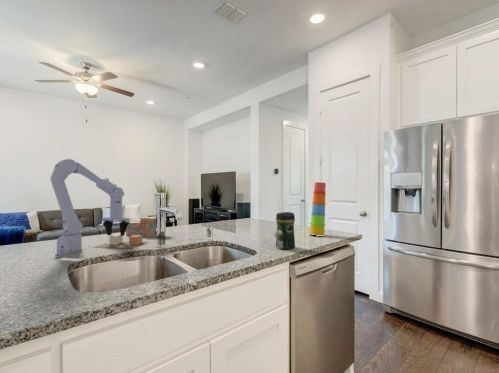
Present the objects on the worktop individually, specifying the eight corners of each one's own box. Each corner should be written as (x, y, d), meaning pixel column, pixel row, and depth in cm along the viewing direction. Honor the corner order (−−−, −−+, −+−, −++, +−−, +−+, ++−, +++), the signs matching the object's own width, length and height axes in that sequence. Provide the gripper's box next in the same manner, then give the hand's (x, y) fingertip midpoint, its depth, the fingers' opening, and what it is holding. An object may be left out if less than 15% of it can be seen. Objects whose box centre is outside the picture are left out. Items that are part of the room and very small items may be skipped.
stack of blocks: (125, 237, 155) (125, 217, 155) (131, 235, 161) (131, 216, 161) (159, 238, 153) (159, 218, 153) (163, 236, 159) (163, 217, 159)
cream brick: (117, 243, 132) (117, 236, 132) (109, 243, 133) (109, 235, 133) (122, 242, 137) (122, 234, 137) (115, 241, 137) (115, 234, 137)
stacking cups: (315, 233, 172) (315, 182, 172) (328, 235, 164) (328, 182, 164) (305, 235, 166) (306, 182, 166) (319, 237, 158) (319, 182, 158)
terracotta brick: (137, 244, 132) (137, 236, 132) (129, 244, 133) (129, 236, 133) (142, 242, 136) (142, 235, 136) (134, 242, 137) (134, 234, 137)
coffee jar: (287, 245, 138) (287, 211, 138) (297, 248, 131) (297, 212, 131) (273, 247, 132) (273, 212, 132) (283, 250, 126) (283, 213, 126)
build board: (132, 251, 122) (132, 248, 122) (93, 249, 126) (93, 246, 126) (149, 244, 137) (149, 241, 137) (114, 242, 140) (114, 240, 140)
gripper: (133, 209, 137) (133, 234, 137) (109, 208, 140) (108, 233, 140) (124, 210, 130) (124, 237, 130) (99, 209, 133) (99, 235, 133)
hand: (115, 235), depth 135 cm, fingers open, 7 cm apart
